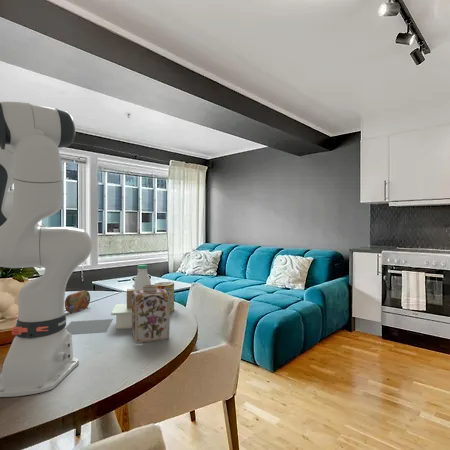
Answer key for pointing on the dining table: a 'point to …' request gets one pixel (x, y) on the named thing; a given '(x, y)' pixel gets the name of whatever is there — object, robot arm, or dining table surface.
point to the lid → (124, 305)
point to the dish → (123, 321)
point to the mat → (88, 326)
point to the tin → (77, 301)
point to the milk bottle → (142, 277)
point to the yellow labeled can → (170, 290)
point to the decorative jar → (150, 314)
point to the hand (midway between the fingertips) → (58, 256)
